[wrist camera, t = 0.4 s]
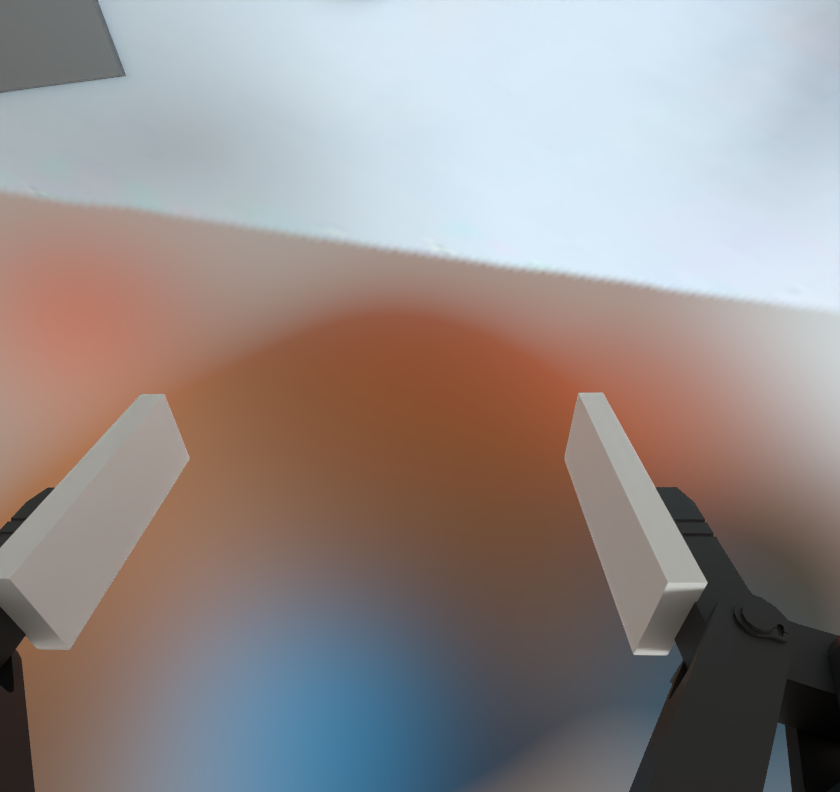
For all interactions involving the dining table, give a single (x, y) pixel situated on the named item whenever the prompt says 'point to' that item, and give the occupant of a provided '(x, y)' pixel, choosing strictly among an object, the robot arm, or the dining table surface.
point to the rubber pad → (54, 44)
